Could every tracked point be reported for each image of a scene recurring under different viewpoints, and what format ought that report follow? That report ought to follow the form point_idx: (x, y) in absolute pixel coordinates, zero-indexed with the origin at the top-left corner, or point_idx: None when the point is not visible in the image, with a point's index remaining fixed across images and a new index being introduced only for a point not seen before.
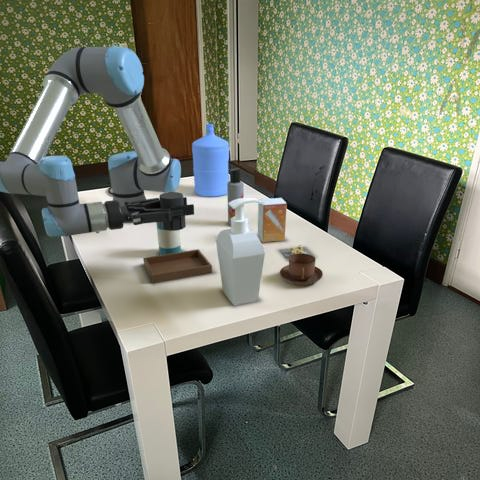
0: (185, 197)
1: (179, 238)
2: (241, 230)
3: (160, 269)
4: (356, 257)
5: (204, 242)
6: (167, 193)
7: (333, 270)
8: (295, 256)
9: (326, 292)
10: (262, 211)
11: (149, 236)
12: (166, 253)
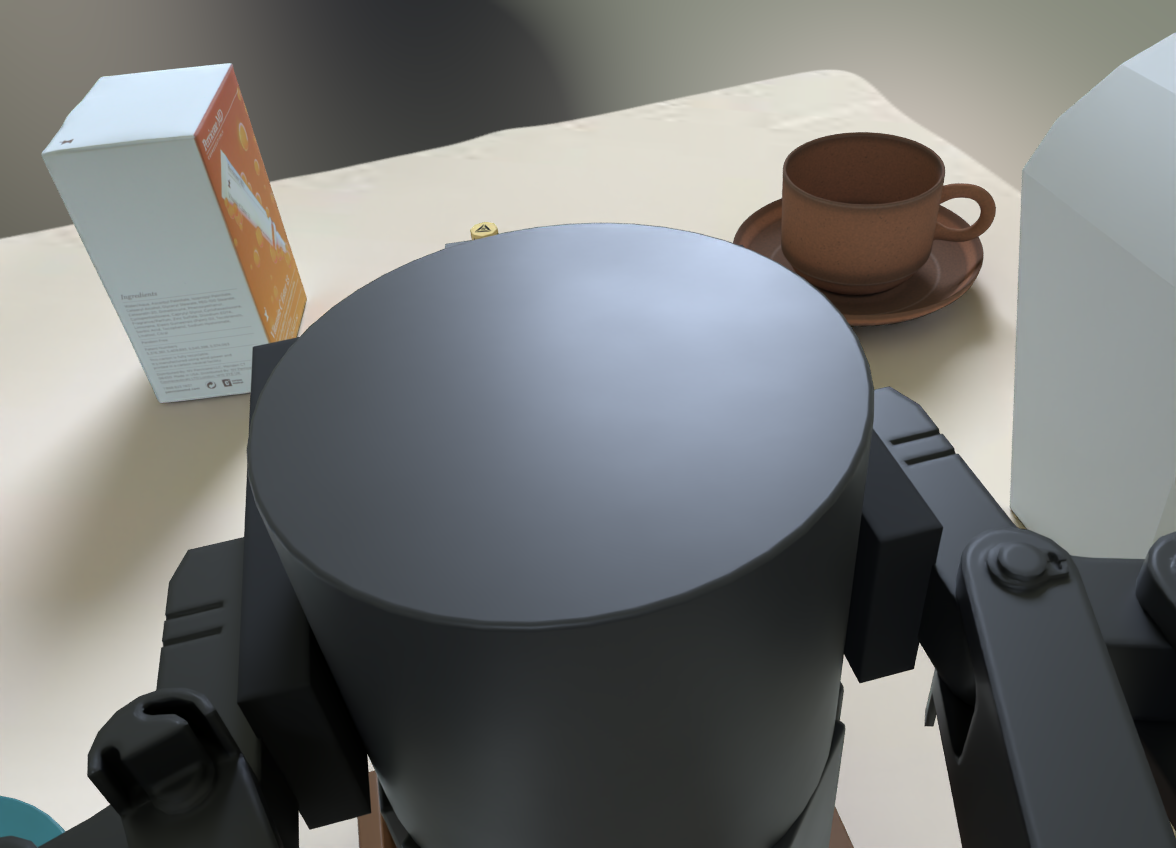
0: (273, 349)
1: None
2: None
3: None
4: (613, 123)
5: (52, 757)
6: (366, 452)
7: (749, 184)
8: (793, 197)
9: (1004, 218)
10: (195, 192)
11: None
12: None
